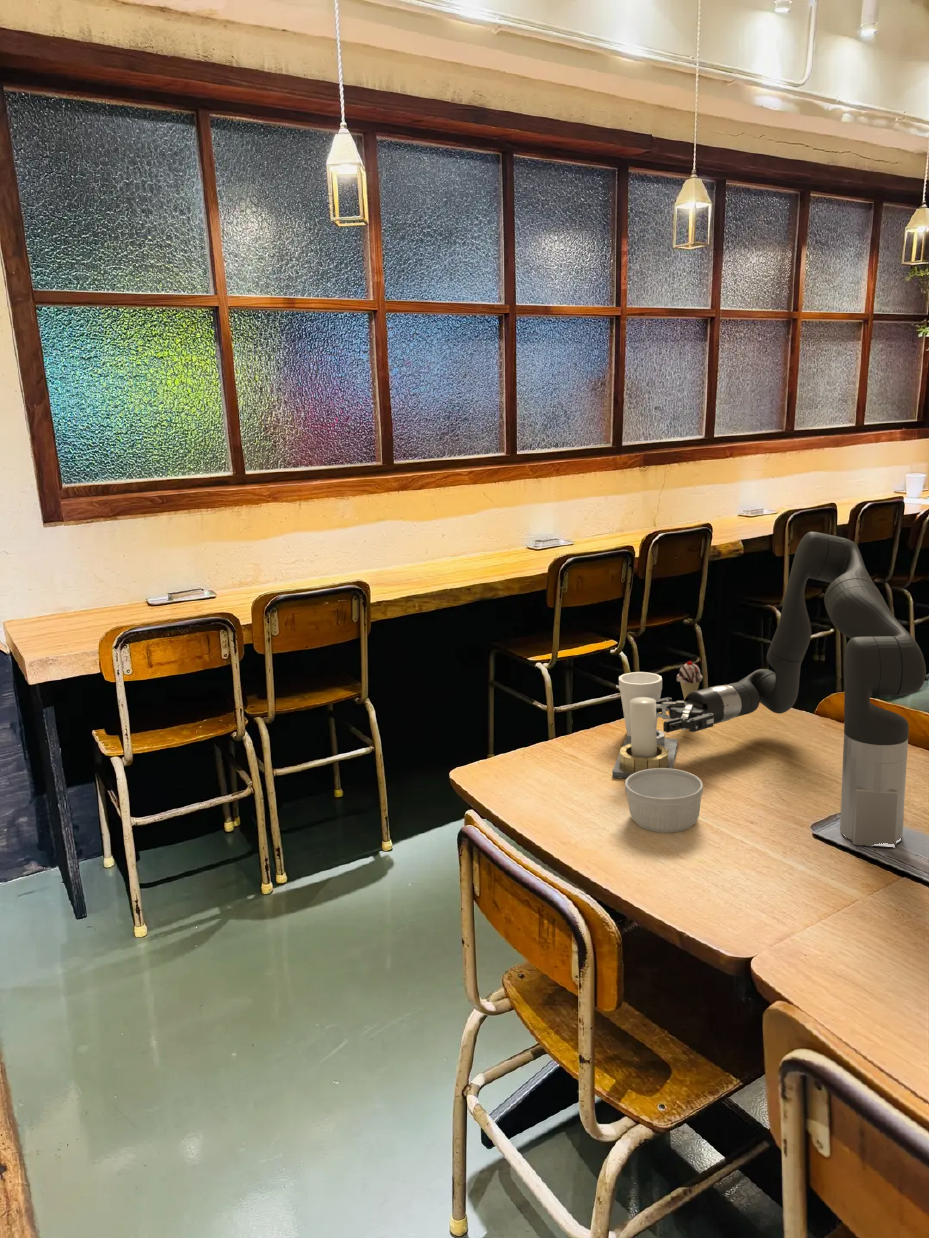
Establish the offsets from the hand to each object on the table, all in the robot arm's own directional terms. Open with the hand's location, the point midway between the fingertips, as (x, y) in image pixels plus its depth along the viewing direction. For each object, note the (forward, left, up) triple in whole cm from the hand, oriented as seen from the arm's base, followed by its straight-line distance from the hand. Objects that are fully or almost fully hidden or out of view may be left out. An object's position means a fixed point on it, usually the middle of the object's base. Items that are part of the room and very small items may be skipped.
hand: (650, 721), depth 168 cm
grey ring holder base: (+3, +1, -10) cm, 10 cm away
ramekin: (-23, -5, -10) cm, 25 cm away
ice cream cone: (+26, -6, -10) cm, 29 cm away
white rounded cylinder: (-1, +1, -8) cm, 9 cm away
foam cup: (+18, +4, -10) cm, 21 cm away
